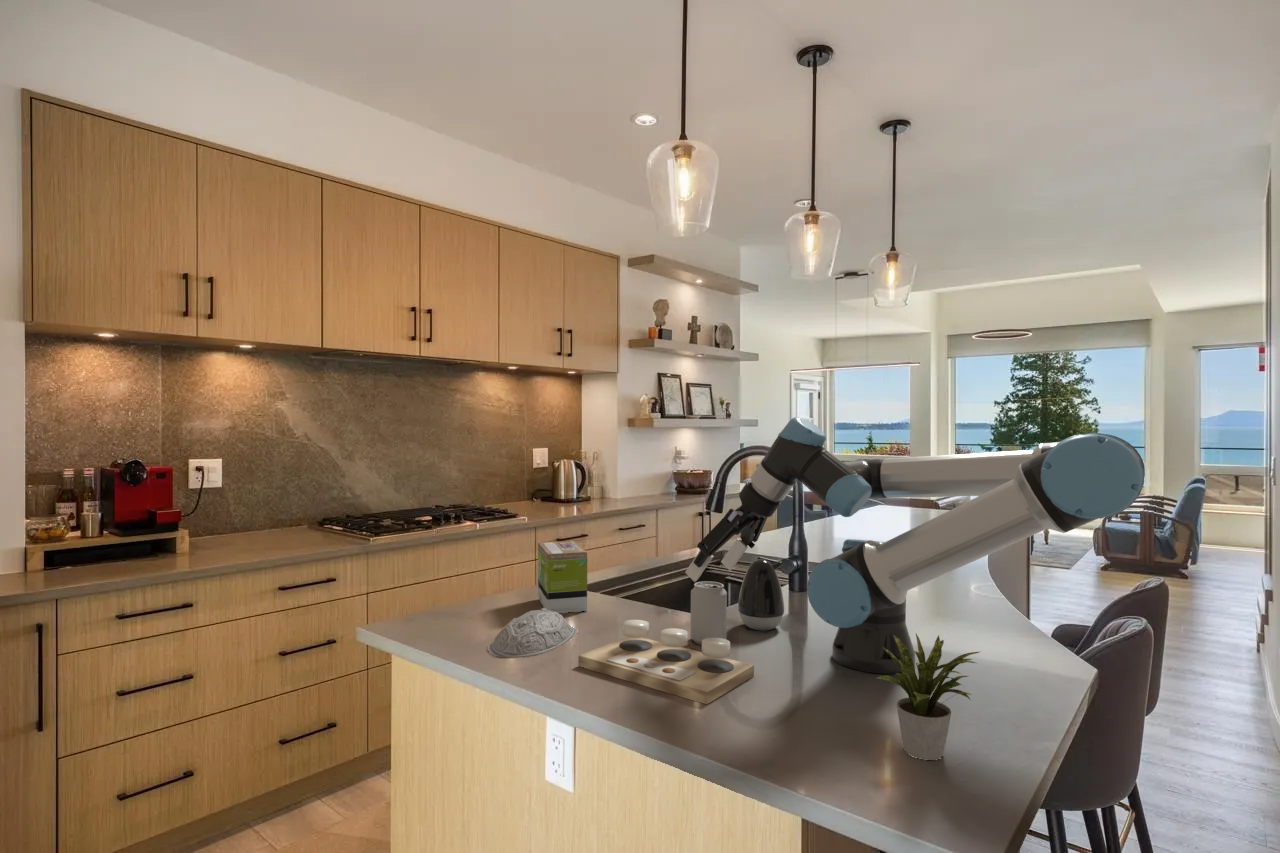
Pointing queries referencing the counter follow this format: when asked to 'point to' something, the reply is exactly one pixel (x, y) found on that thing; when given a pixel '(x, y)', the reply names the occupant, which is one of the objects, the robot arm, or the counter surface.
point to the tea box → (562, 576)
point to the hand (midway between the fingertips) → (709, 571)
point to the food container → (532, 634)
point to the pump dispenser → (761, 596)
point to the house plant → (925, 699)
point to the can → (708, 611)
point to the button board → (668, 668)
